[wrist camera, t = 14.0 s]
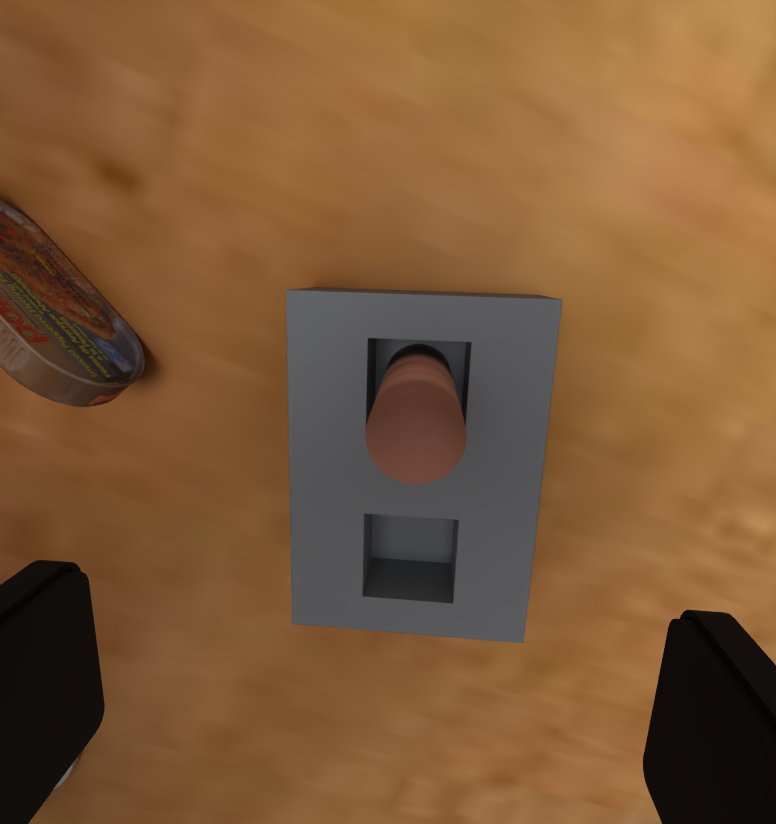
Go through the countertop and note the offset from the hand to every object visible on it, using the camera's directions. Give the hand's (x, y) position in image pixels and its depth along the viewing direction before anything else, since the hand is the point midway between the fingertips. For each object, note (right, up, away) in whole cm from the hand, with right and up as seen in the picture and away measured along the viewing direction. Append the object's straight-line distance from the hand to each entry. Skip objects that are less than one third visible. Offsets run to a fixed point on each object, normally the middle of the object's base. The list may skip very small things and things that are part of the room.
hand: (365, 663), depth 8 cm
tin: (-20, +12, +26) cm, 35 cm away
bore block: (+2, +2, +27) cm, 27 cm away
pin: (+2, +6, +24) cm, 25 cm away
